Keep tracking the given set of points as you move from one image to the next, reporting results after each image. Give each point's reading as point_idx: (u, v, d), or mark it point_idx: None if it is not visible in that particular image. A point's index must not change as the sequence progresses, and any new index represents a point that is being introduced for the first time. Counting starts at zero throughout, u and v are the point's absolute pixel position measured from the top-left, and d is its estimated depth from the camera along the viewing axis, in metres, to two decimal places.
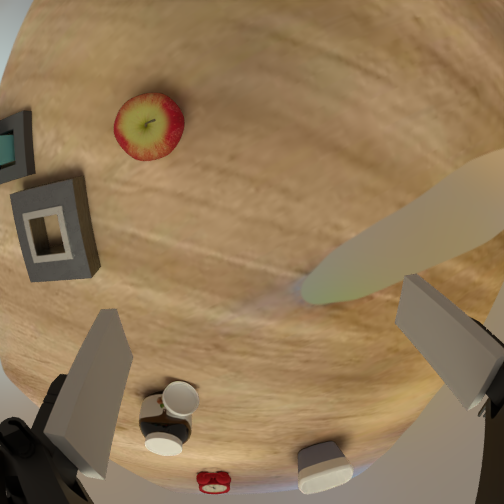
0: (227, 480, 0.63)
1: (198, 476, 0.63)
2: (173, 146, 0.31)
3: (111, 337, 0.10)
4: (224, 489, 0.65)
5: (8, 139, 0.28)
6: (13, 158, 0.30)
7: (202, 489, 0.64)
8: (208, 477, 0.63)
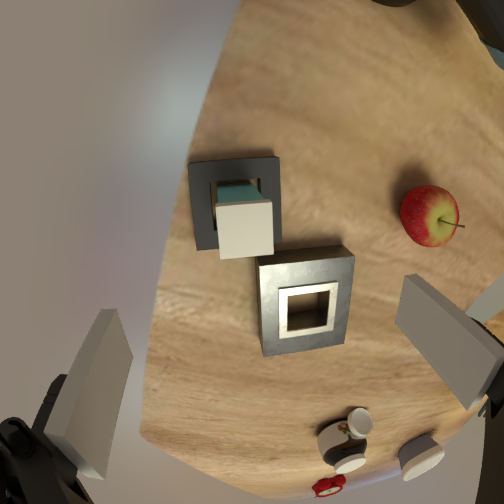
0: (345, 481, 0.67)
1: (320, 483, 0.68)
2: None
3: (111, 337, 0.10)
4: (336, 490, 0.70)
5: None
6: None
7: (318, 494, 0.68)
8: (329, 482, 0.67)
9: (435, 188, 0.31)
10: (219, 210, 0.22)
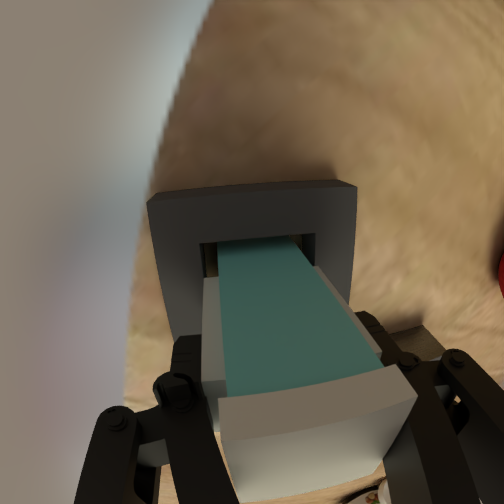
0: None
1: None
2: None
3: None
4: None
5: None
6: None
7: None
8: None
9: None
10: (238, 448, 0.05)
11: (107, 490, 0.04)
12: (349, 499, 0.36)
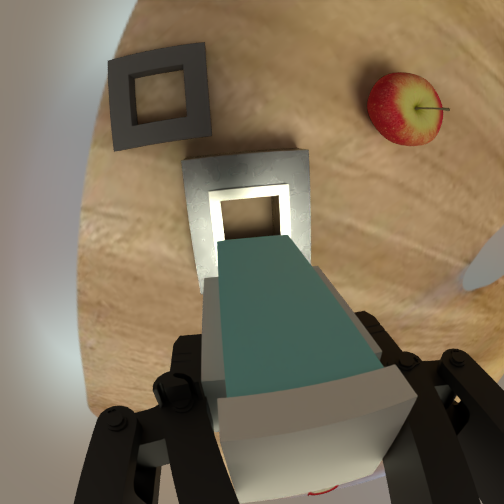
0: None
1: None
2: None
3: None
4: (332, 487, 0.62)
5: None
6: None
7: (311, 492, 0.61)
8: None
9: None
10: (237, 448, 0.05)
11: (107, 490, 0.04)
12: None
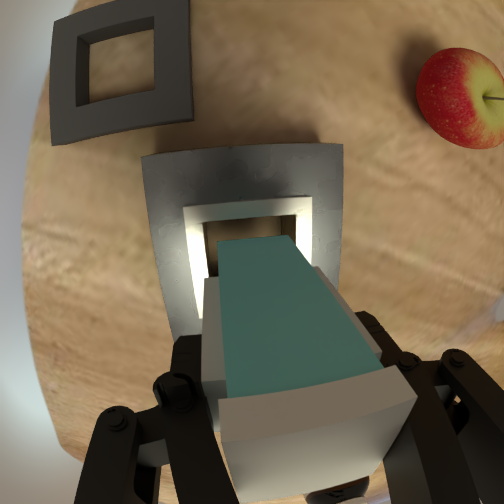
0: None
1: None
2: None
3: None
4: None
5: None
6: None
7: None
8: None
9: None
10: (238, 449, 0.05)
11: (107, 490, 0.04)
12: None
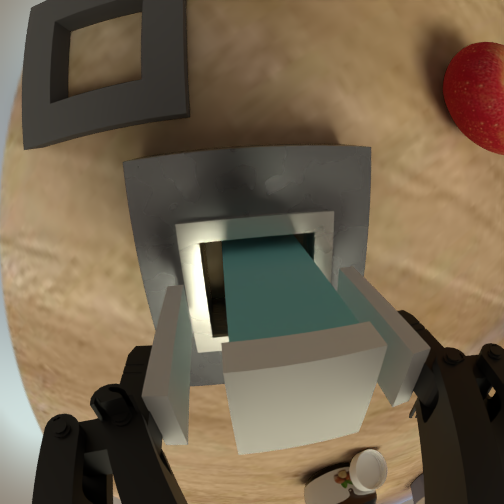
0: None
1: None
2: None
3: (183, 310, 0.12)
4: None
5: None
6: None
7: None
8: None
9: None
10: (237, 381, 0.07)
11: (58, 494, 0.04)
12: (313, 477, 0.32)
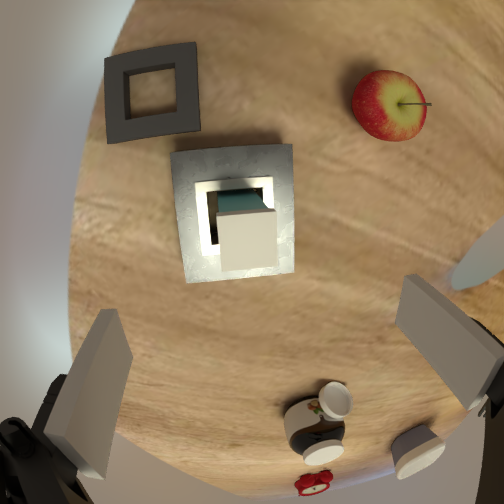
0: (331, 478, 0.60)
1: (302, 479, 0.60)
2: None
3: (111, 337, 0.10)
4: (323, 488, 0.62)
5: None
6: None
7: (301, 492, 0.61)
8: (313, 478, 0.60)
9: (388, 70, 0.24)
10: (221, 220, 0.21)
11: None
12: (291, 405, 0.46)
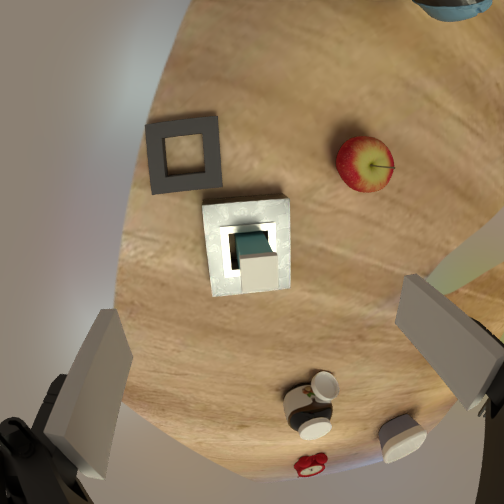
0: (326, 460, 0.72)
1: (300, 461, 0.73)
2: None
3: (111, 337, 0.10)
4: (319, 470, 0.74)
5: None
6: None
7: (300, 473, 0.73)
8: (310, 460, 0.72)
9: (365, 137, 0.36)
10: (242, 261, 0.34)
11: None
12: (289, 390, 0.58)
